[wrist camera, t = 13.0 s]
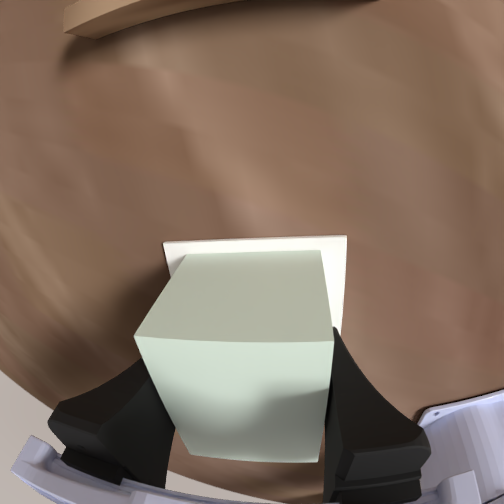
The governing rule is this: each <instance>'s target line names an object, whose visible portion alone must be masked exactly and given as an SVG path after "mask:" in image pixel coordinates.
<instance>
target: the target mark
mask: <svg viewBox="0 0 504 504" xmlns="http://www.w3.org/2000/svg"><path fill="white" fill-rule="evenodd" d="M163 246H164V250H165V255H166V259H167V263H168V268H169V272H170V276H171V277H172V276H173V274H174V273H175V271H176V270H177V268H178V267H179V265H180V264H181V262H182V261H183V259H184V258H185V256H186V255H187V254H209V253H241V252H273V251H305V250H321V255H322V261H323V267H324V273H325V279H326V286H327V292H328V299H329V306H330V313H331V320H332V327H336V328H337V330H338V332H339V334H341V323H342V312H343V300H344V286H345V269H346V247H347V236H346V235H328V236H296V237H268V238H241V239H217V240H194V241H172V242H164V243H163Z"/></svg>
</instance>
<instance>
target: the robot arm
mask: <svg viewBox="0 0 504 504" xmlns="http://www.w3.org/2000/svg"><path fill="white" fill-rule="evenodd" d="M332 328H333V336H334V349H333V359H332V368H331V377H330V385H329V393H328V400H327V408H326V415H325V421H324V423H325V470H324V492H323V504H504V390H501V391H497V392H494V393H490V394H487V395H483V396H479V397H476V398H472V399H468V400H464V401H459V402H455V403H450V404H446V405H441V406H436V407H431V408H428V409H426V410H425V411H424V412H423V414H422V416H421V418H420V420H419V422H418V423H417V424H416V423H414V422H413V421H411V420H410V419H408V418H407V417H406V416H404V415H403V414H402V413H401V412H399V411H398V410H397V409H396V408H395V407H394V406H392V405H391V404H390V403H389V402H388V401H387V400H386V399H385V398H384V397H383V396H382V395H381V394H380V393H379V392H378V391H377V390H376V389H375V388H374V386H373V385H372V384H371V383H370V382H369V381H368V379H367V378H366V377H365V375H364V374H363V373H362V371H361V370H360V369H359V367H358V366H357V364H356V363H355V361H354V360H353V358H352V356H351V355H350V353H349V352H348V350H347V348H346V346H345V344H344V343H343V341H342V339H341V337H340V334H339V332H338V330H337V328H336V327H332ZM48 426H49V428H50V429H51V431H52V432H53V433H54V434H55V435H56V436H57V438H58V439H59V440H60V441H61V442H62V443H63V444H64V445H65V446H66V449H65V451H64V453H63V454H62V455H61V454H59V453H57V452H56V450H55V449H54V448H53V447H52V446H51V445H49V444H48V443H46V442H45V441H42V440H41V439H39V438H37V437H35V436H32V435H31V436H30V437H29V439H28V441H27V442H26V444H25V446H24V447H23V449H22V451H21V452H20V454H19V456H18V458H17V459H16V461H15V463H14V465H13V466H12V468H11V471H12V473H14V474H15V475H16V476H17V477H19V478H20V479H21V480H22V481H23V482H25V483H26V484H27V485H29V486H30V487H31V488H33V489H34V490H35V491H37V492H38V493H39V494H41V495H43V496H45V497H46V498H48V499H50V500H51V501H53V502H55V503H57V504H267V503H252V502H241V501H231V500H223V499H214V498H209V497H202V496H196V495H191V494H185V493H180V492H175V491H171V490H166V489H165V484H166V475H167V468H168V462H169V456H170V451H171V446H172V441H173V436H174V432H175V428H176V427H175V426H174V424H173V422H172V420H171V418H170V416H169V414H168V412H167V410H166V408H165V406H164V404H163V402H162V400H161V398H160V396H159V393H158V391H157V389H156V387H155V385H154V383H153V380H152V378H151V376H150V374H149V372H148V369H147V367H146V365H145V362H144V360H143V358H140V359H139V360H138V361H137V362H136V363H134V364H133V365H132V366H131V367H129V368H128V369H127V370H125V371H124V372H122V373H121V374H119V375H118V376H116V377H115V378H113V379H111V380H110V381H108V382H106V383H104V384H103V385H101V386H99V387H97V388H95V389H93V390H91V391H89V392H86V393H84V394H82V395H79V396H76V397H73V398H70V399H67V400H64V401H61V402H59V404H58V405H57V407H56V408H55V410H54V411H53V413H52V415H51V416H50V418H49V420H48ZM419 479H420V480H419ZM420 485H421V486H420ZM268 504H269V503H268Z"/></svg>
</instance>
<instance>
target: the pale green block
mask: <svg viewBox="0 0 504 504" xmlns="http://www.w3.org/2000/svg"><path fill="white" fill-rule="evenodd" d="M134 338H135V341H136V343H137V346H138V348H139V350H140V353H141V355H142V358H143V360H144V362H145V365H146V367H147V369H148V372H149V374H150V376H151V378H152V380H153V383H154V385H155V387H156V389H157V391H158V393H159V396H160V398H161V400H162V402H163V404H164V406H165V408H166V410H167V412H168V414H169V416H170V418H171V420H172V422H173V424H174V426H175V427H176V429H177V431H178V433H179V435H180V437H181V439H182V440H183V442H184V444H185V446H186V448H187V449H188V451H189V453H190V454H192V455H198V456H205V457H213V458H222V459H232V460H244V461H259V462H318V457H319V452H320V446H321V440H322V434H323V428H324V421H325V415H326V408H327V400H328V393H329V385H330V377H331V368H332V359H333V349H334V336H333V328H332V320H331V313H330V306H329V299H328V292H327V286H326V279H325V273H324V267H323V261H322V255H321V250H305V251H273V252H241V253H209V254H187V255H186V256H185V258H184V259H183V261H182V262H181V264H180V265H179V267H178V268H177V270H176V271H175V273H174V274H173V276H172V277H171V279H170V280H169V282H168V283H167V285H166V286H165V288H164V289H163V291H162V292H161V294H160V295H159V297H158V298H157V300H156V302H155V303H154V305H153V306H152V308H151V309H150V311H149V312H148V314H147V316H146V317H145V319H144V320H143V322H142V323H141V325H140V327H139V328H138V330H137V331H136V333H135V334H134Z"/></svg>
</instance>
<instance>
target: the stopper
mask: <svg viewBox="0 0 504 504" xmlns="http://www.w3.org/2000/svg"><path fill="white" fill-rule="evenodd" d="M238 1H245V0H79V1H77V2H75V3H73V4H72V5H70V6H68V7H66V8H64V22H63V33H67V34H73V35H78V36H83V37H87V38H92V39H99V38H101V37H104V36H106V35H109V34H111V33H114V32H117V31H120V30H122V29H125V28H128V27H131V26H134V25H137V24H140V23H143V22H147V21H150V20H153V19H157V18H160V17H164V16H168V15H172V14H175V13H180V12H184V11H188V10H193V9H197V8H202V7H207V6H213V5H218V4H224V3H231V2H238Z"/></svg>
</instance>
